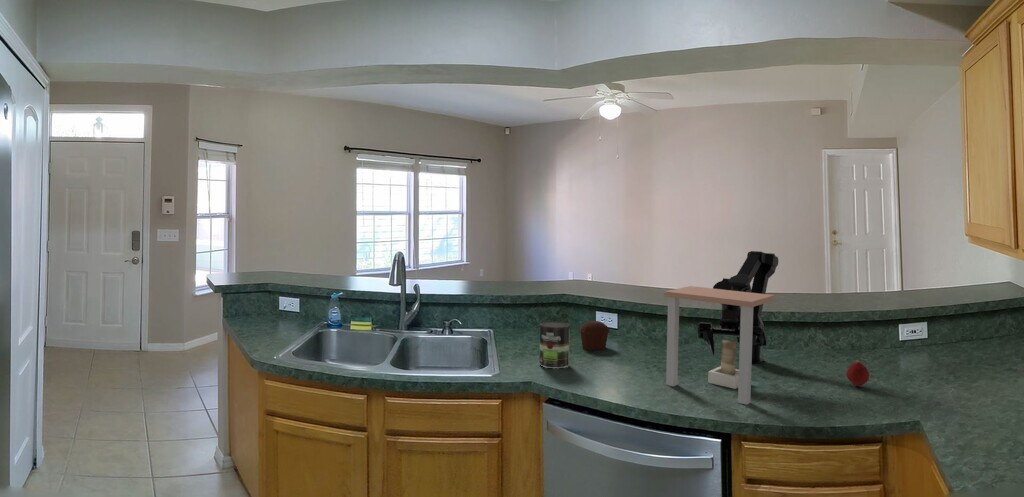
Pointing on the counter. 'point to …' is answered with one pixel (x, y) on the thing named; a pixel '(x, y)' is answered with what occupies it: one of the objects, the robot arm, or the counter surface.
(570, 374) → the counter surface
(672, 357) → the pink topped table
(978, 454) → the counter surface
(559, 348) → the coffee can
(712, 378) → the socket
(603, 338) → the muffin
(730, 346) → the peg
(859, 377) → the onion
